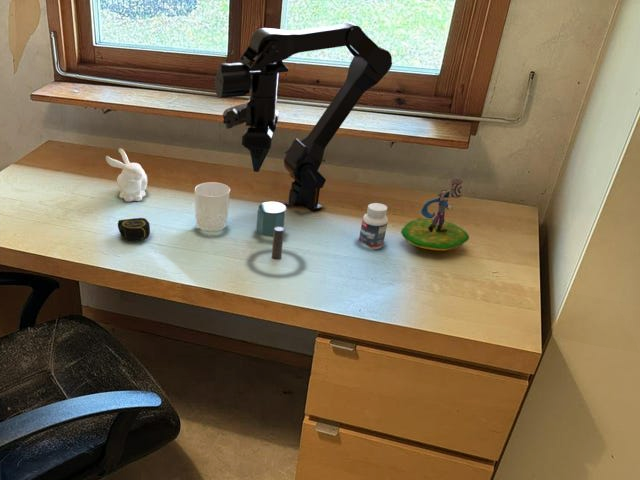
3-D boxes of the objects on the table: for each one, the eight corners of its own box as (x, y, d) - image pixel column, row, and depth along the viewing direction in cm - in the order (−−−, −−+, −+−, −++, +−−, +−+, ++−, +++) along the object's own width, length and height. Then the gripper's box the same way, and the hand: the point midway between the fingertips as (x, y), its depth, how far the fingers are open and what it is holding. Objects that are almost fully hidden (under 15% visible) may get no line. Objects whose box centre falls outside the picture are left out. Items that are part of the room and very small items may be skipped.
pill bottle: (353, 243, 151) (359, 205, 146) (368, 236, 154) (375, 199, 148) (372, 252, 148) (379, 214, 143) (388, 245, 150) (395, 207, 145)
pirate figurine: (398, 256, 146) (412, 189, 137) (398, 229, 156) (411, 166, 147) (467, 263, 143) (486, 195, 134) (463, 236, 153) (480, 171, 144)
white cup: (226, 239, 154) (228, 197, 148) (191, 236, 155) (191, 195, 149) (230, 224, 160) (232, 183, 154) (197, 221, 162) (197, 180, 155)
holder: (282, 246, 151) (285, 213, 146) (313, 268, 143) (317, 233, 138) (239, 258, 147) (241, 224, 142) (269, 281, 139) (272, 246, 134)
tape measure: (147, 229, 159) (146, 214, 156) (152, 243, 153) (152, 227, 151) (118, 232, 158) (117, 217, 156) (122, 246, 152) (121, 230, 150)
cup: (273, 227, 158) (275, 199, 154) (288, 238, 154) (291, 209, 150) (251, 233, 156) (253, 205, 152) (266, 244, 152) (268, 215, 147)
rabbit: (144, 205, 169) (142, 157, 162) (106, 204, 170) (103, 157, 163) (150, 185, 179) (149, 140, 172) (114, 184, 180) (111, 139, 173)
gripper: (232, 80, 157) (229, 147, 166) (219, 105, 142) (217, 177, 152) (281, 82, 155) (275, 150, 164) (273, 107, 140) (267, 180, 150)
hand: (258, 164), depth 158 cm, fingers open, 9 cm apart
